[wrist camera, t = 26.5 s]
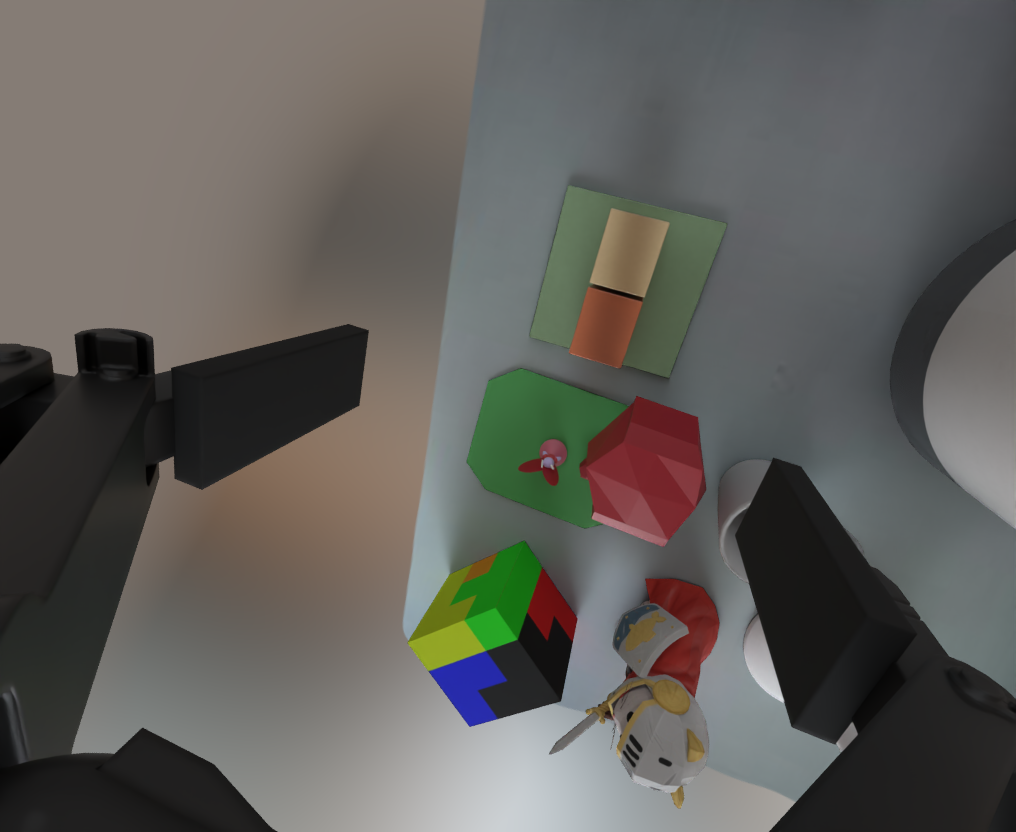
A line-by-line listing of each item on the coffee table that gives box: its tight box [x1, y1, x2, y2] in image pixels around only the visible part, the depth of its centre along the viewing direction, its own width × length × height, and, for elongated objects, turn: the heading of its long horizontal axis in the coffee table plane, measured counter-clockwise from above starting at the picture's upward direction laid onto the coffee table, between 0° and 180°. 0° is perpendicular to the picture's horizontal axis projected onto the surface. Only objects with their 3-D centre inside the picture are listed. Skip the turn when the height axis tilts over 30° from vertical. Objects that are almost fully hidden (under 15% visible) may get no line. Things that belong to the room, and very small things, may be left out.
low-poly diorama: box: [467, 368, 706, 547], centre depth 40 cm, size 15×20×9 cm
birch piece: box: [590, 208, 670, 297], centre depth 35 cm, size 4×5×4 cm
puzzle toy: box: [408, 541, 577, 727], centre depth 47 cm, size 10×10×10 cm
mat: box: [530, 185, 727, 378], centre depth 38 cm, size 12×12×1 cm
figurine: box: [549, 579, 719, 808], centre depth 41 cm, size 13×11×15 cm
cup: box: [718, 459, 864, 584], centre depth 37 cm, size 8×10×8 cm
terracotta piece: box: [569, 284, 644, 369], centre depth 37 cm, size 4×5×4 cm
